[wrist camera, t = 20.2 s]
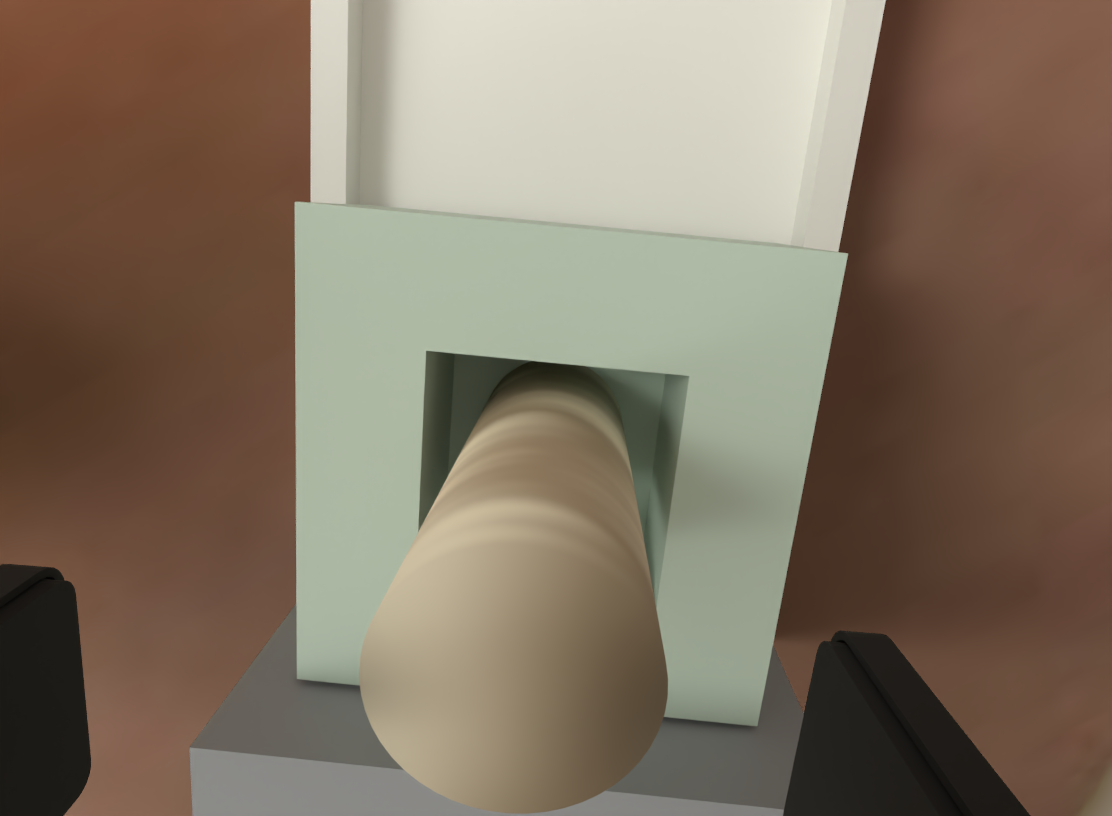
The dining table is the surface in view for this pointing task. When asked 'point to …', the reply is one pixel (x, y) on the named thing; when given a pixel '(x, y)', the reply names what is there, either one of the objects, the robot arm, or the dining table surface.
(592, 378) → the dowel
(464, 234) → the slide block
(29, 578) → the robot arm
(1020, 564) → the dining table surface
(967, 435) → the dining table surface
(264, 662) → the rail base
